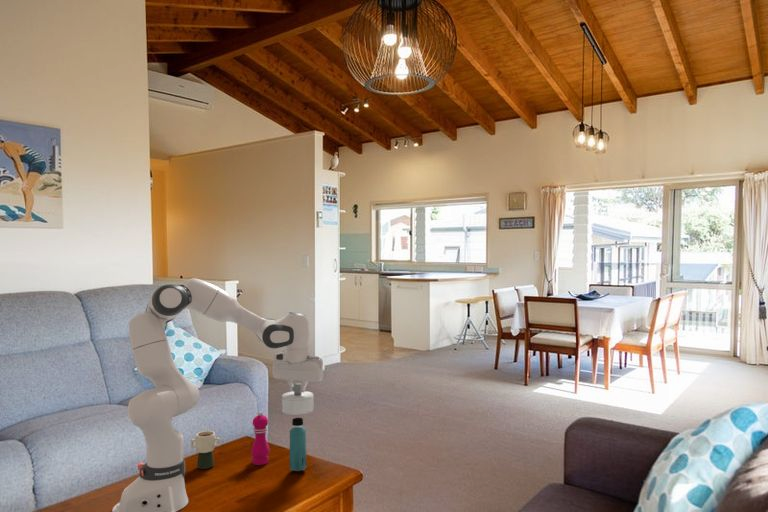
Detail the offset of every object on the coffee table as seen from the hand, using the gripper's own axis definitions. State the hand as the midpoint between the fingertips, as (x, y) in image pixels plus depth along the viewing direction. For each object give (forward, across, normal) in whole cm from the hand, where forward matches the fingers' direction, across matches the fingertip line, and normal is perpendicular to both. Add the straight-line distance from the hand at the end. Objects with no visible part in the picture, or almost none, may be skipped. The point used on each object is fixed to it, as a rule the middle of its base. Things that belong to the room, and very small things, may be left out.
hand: (297, 391), depth 196 cm
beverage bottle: (+30, 0, 0) cm, 30 cm away
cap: (+7, 0, 0) cm, 7 cm away
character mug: (+30, +36, +8) cm, 48 cm away
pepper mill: (+30, +19, -3) cm, 36 cm away
